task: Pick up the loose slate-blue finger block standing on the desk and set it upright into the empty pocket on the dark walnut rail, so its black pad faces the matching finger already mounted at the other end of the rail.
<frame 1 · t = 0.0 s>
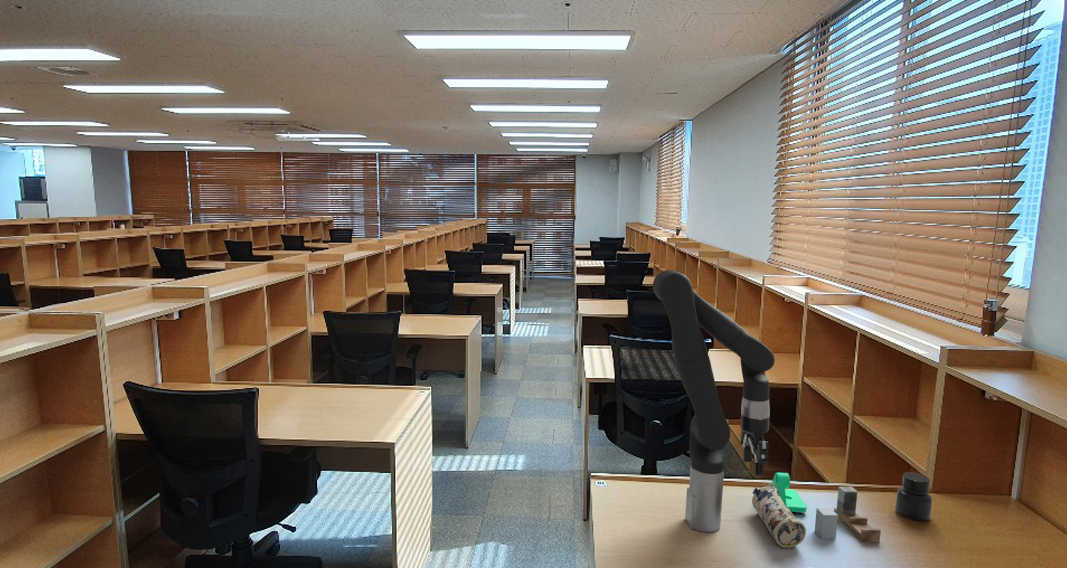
hand: (753, 467, 172), 17 cm above the table, tool pointing down, fingers open, 8 cm apart
rail: (855, 527, 173), on the table
finger block: (825, 534, 169), on the table
camera mount: (787, 506, 186), on the table
ink bottle: (912, 515, 182), on the table
pencil case: (776, 531, 171), on the table
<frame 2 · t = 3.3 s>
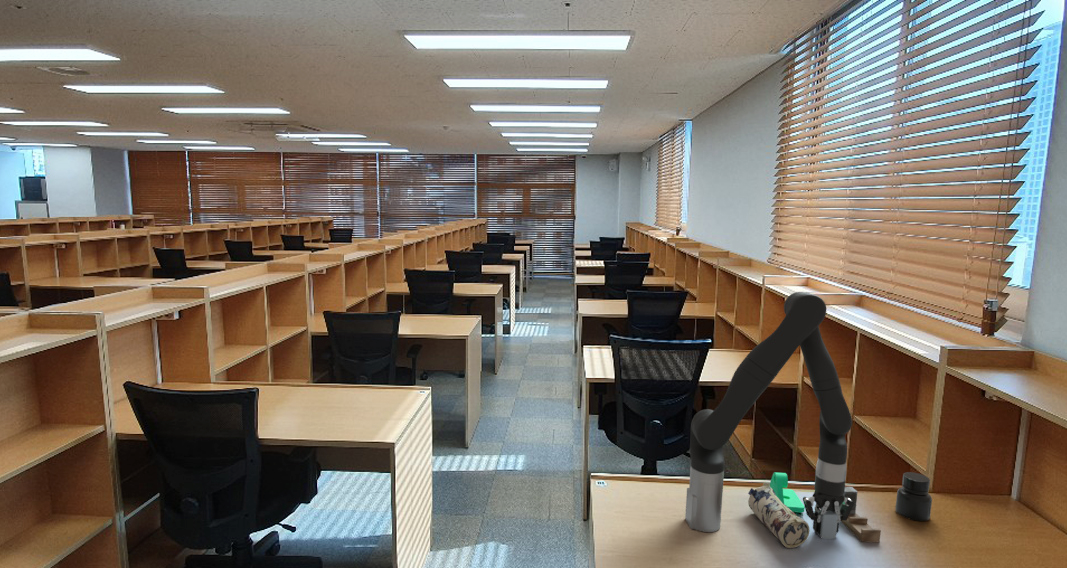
hand: (825, 532, 169), 1 cm above the table, tool pointing down, fingers closed on finger block, 4 cm apart
finger block: (825, 534, 169), on the table, touching gripper
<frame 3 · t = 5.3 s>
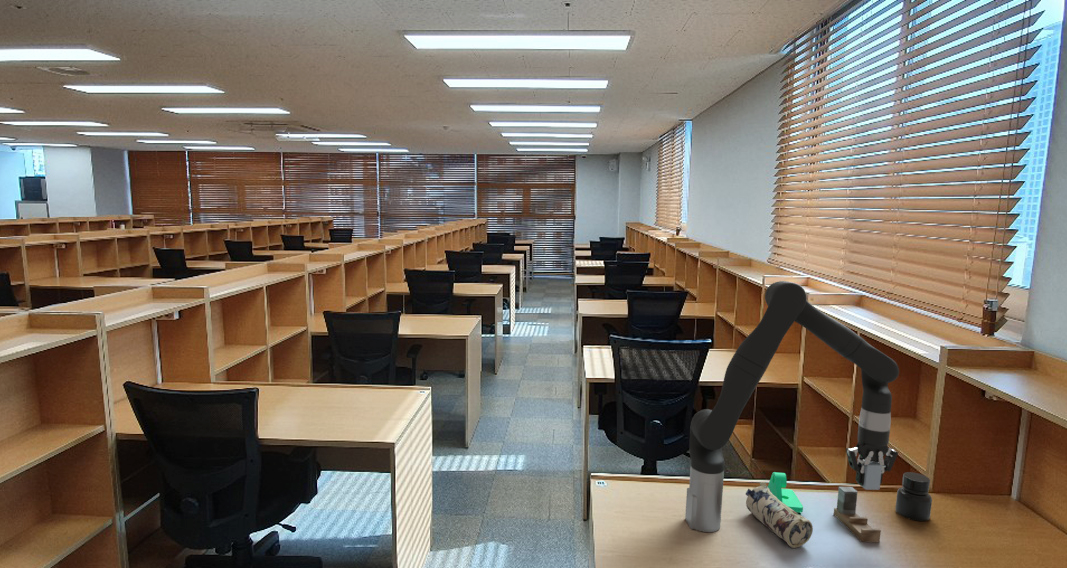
hand: (868, 484, 168), 15 cm above the table, tool pointing down, fingers closed on finger block, 4 cm apart
finger block: (868, 486, 168), point 15 cm above the table, touching gripper
when the fingers open (4 cm above the table, at t = 7.7 s): finger block stays where it is, resting on rail.
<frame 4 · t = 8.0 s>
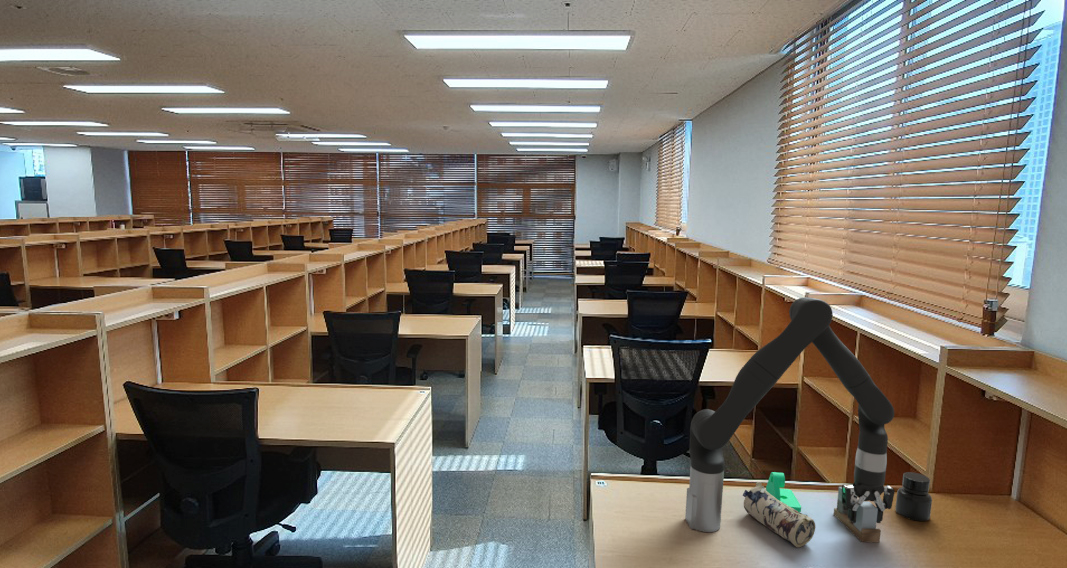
hand: (864, 521, 169), 4 cm above the table, tool pointing down, fingers open, 6 cm apart
finger block: (864, 528, 169), point 2 cm above the table, touching rail
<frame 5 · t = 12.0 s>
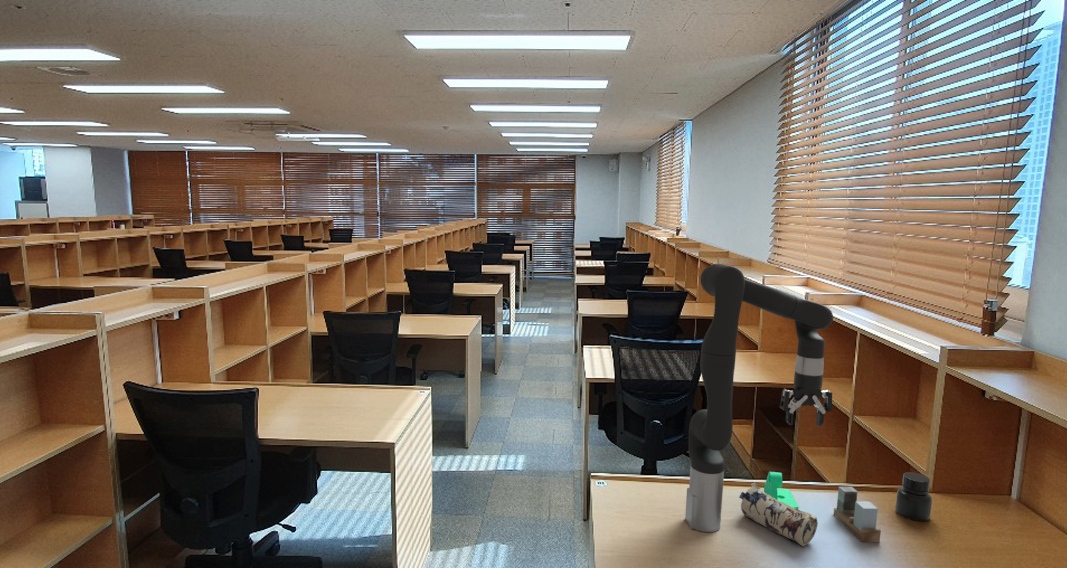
hand: (804, 424, 176), 28 cm above the table, tool pointing down, fingers open, 8 cm apart
at the end: finger block 0.0 cm from the target spot on the rail, point 2.0 cm above the rail's base; finger block tilted 0°; the gripper is holding nothing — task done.
